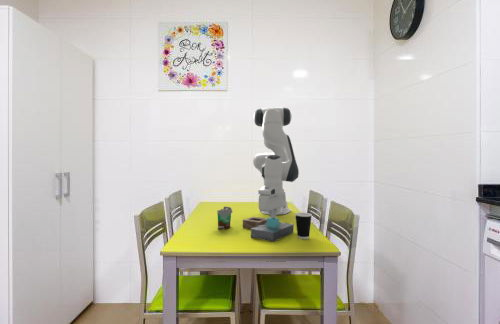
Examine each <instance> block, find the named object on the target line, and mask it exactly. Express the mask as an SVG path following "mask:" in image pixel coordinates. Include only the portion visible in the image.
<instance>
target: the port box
mask: <svg viewBox="0 0 500 324" xmlns="http://www.w3.org/2000/svg"><path fill="white" fill-rule="evenodd" d="M294 227H295V226H294V223H287V222H281V221H279V227H278V228H272V227H267V223H266V224H263V225H260V226H257V227H255V228H252V229H250V238H252V237H253V238H252V239H258V240H263V241H268V242H275V241H278V240H280V239H282V238H285V237H286V236H289V235H290V234H293V233H294V229H295V228H294Z"/></svg>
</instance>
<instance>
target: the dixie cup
mask: <svg viewBox="0 0 500 324" xmlns="http://www.w3.org/2000/svg"><path fill="white" fill-rule="evenodd" d="M294 215H295V224H296V233H297V238H298V239H301V240H308V239H309V236H310V233H311V232H310V230H311V223H312V216H313V213H309V212H296V213H295V214H294Z"/></svg>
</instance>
